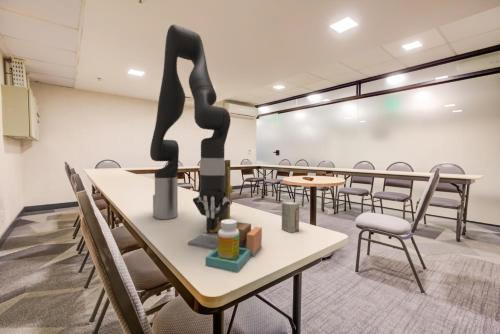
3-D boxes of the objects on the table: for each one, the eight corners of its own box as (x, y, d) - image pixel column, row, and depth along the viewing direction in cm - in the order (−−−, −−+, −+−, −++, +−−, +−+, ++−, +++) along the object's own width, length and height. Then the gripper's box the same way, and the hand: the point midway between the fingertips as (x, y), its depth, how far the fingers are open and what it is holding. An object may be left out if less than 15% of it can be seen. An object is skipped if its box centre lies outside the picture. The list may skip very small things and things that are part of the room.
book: (226, 234, 76) (227, 161, 75) (202, 233, 76) (202, 160, 75) (233, 216, 98) (233, 160, 97) (213, 216, 98) (214, 159, 97)
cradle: (205, 265, 55) (205, 257, 54) (222, 251, 63) (222, 244, 62) (237, 272, 52) (237, 263, 51) (250, 256, 60) (250, 249, 59)
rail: (187, 244, 67) (187, 225, 67) (200, 236, 73) (200, 219, 73) (253, 256, 59) (253, 235, 59) (261, 246, 66) (261, 227, 66)
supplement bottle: (236, 264, 54) (237, 225, 54) (215, 262, 55) (215, 223, 54) (240, 254, 59) (241, 218, 59) (221, 253, 60) (221, 217, 60)
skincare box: (299, 231, 80) (300, 203, 80) (290, 233, 78) (290, 204, 78) (290, 227, 85) (290, 200, 84) (280, 228, 83) (281, 202, 82)
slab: (217, 245, 64) (217, 226, 63) (227, 237, 70) (227, 220, 69) (242, 249, 61) (243, 230, 61) (251, 241, 67) (251, 223, 67)
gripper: (186, 173, 66) (186, 230, 67) (226, 175, 61) (225, 236, 62) (200, 171, 73) (200, 223, 74) (237, 173, 68) (236, 228, 69)
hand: (212, 229), depth 68 cm, fingers closed
